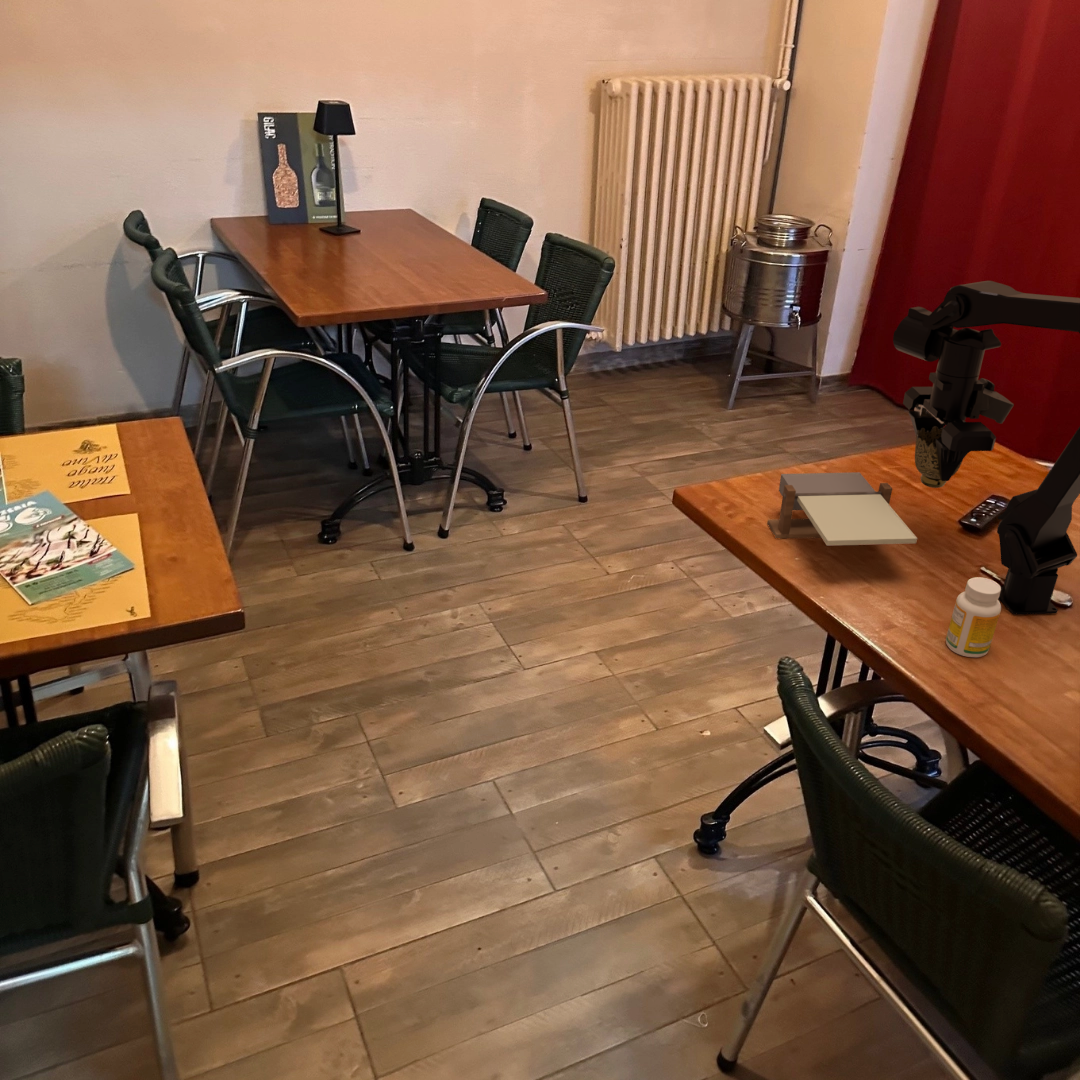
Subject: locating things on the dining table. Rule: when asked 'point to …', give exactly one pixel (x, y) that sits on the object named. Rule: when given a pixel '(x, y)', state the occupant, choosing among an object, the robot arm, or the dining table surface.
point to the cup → (929, 457)
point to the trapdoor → (847, 510)
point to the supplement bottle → (974, 618)
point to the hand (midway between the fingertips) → (935, 470)
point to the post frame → (804, 527)
